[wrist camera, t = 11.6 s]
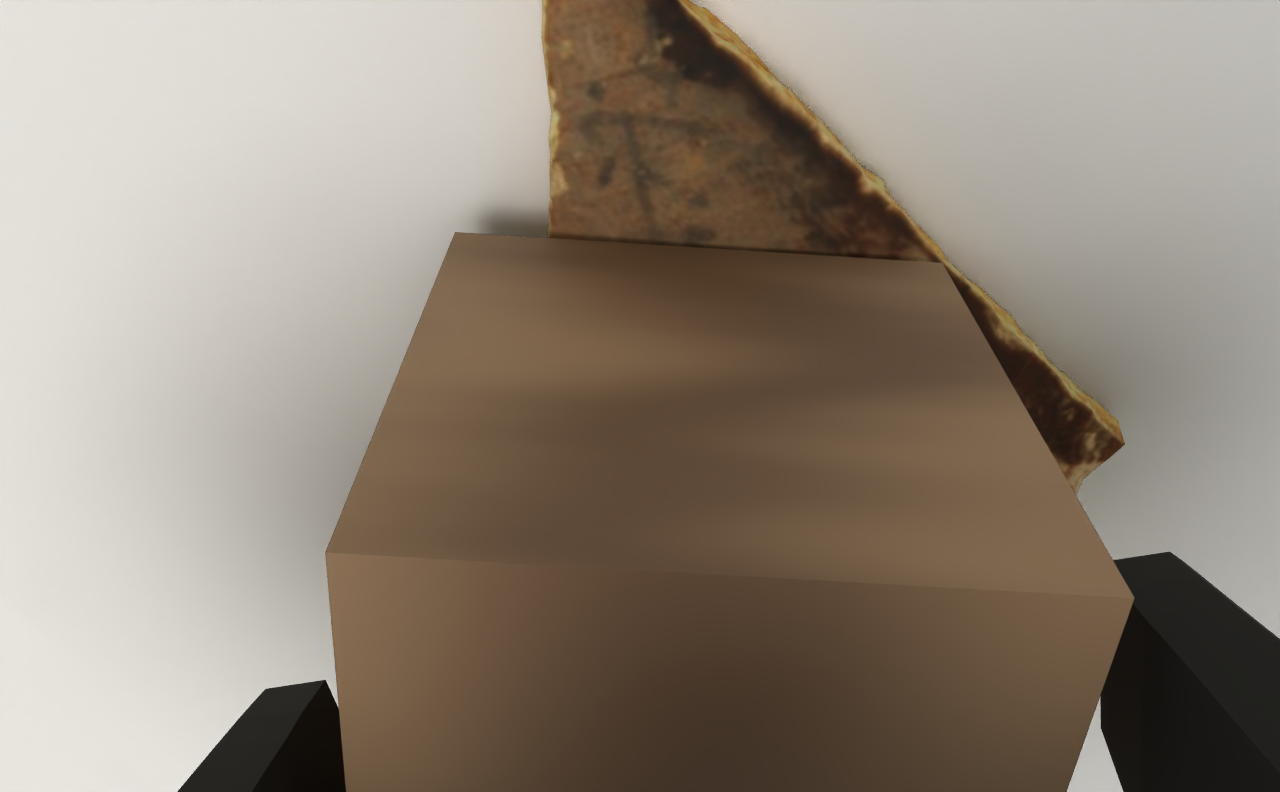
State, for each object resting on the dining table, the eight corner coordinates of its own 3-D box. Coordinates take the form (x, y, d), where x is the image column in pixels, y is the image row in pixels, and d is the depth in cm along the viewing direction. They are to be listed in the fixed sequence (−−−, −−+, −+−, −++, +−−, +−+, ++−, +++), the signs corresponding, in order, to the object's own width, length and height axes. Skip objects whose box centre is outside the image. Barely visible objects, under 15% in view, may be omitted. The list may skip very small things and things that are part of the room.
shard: (551, -158, 13) (537, -143, 11) (1237, -123, 13) (1319, -103, 11) (546, 604, 18) (536, 686, 17) (1028, 623, 18) (1063, 706, 17)
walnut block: (942, 263, 13) (1134, 598, 8) (864, 636, 16) (969, 1066, 11) (454, 232, 13) (325, 552, 8) (460, 614, 16) (367, 1040, 11)
